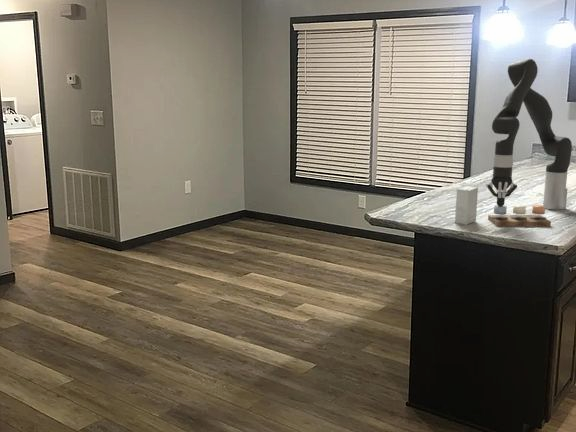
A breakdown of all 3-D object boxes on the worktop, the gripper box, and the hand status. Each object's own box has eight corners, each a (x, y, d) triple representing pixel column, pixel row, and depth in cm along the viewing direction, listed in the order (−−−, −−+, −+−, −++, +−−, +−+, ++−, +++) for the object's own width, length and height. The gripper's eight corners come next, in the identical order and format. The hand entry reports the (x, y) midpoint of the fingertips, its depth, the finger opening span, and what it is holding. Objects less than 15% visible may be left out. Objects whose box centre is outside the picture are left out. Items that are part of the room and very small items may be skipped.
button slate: (504, 212, 279) (504, 205, 278) (507, 214, 274) (508, 207, 273) (492, 212, 279) (492, 205, 278) (495, 214, 274) (496, 207, 273)
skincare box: (463, 219, 283) (465, 185, 280) (476, 221, 279) (478, 187, 276) (454, 222, 277) (455, 188, 274) (467, 225, 273) (469, 189, 270)
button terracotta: (542, 211, 278) (542, 204, 277) (546, 214, 273) (547, 207, 273) (530, 211, 278) (530, 204, 278) (534, 214, 273) (534, 207, 273)
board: (539, 219, 283) (540, 214, 282) (550, 226, 270) (551, 220, 270) (487, 219, 283) (487, 214, 283) (496, 226, 271) (496, 220, 270)
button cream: (523, 211, 278) (523, 204, 278) (527, 214, 273) (527, 207, 273) (511, 211, 278) (511, 204, 278) (515, 214, 274) (515, 207, 273)
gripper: (516, 164, 275) (513, 204, 279) (484, 164, 276) (482, 204, 279) (522, 166, 268) (518, 208, 272) (489, 166, 268) (486, 208, 272)
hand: (500, 206), depth 276 cm, fingers closed
